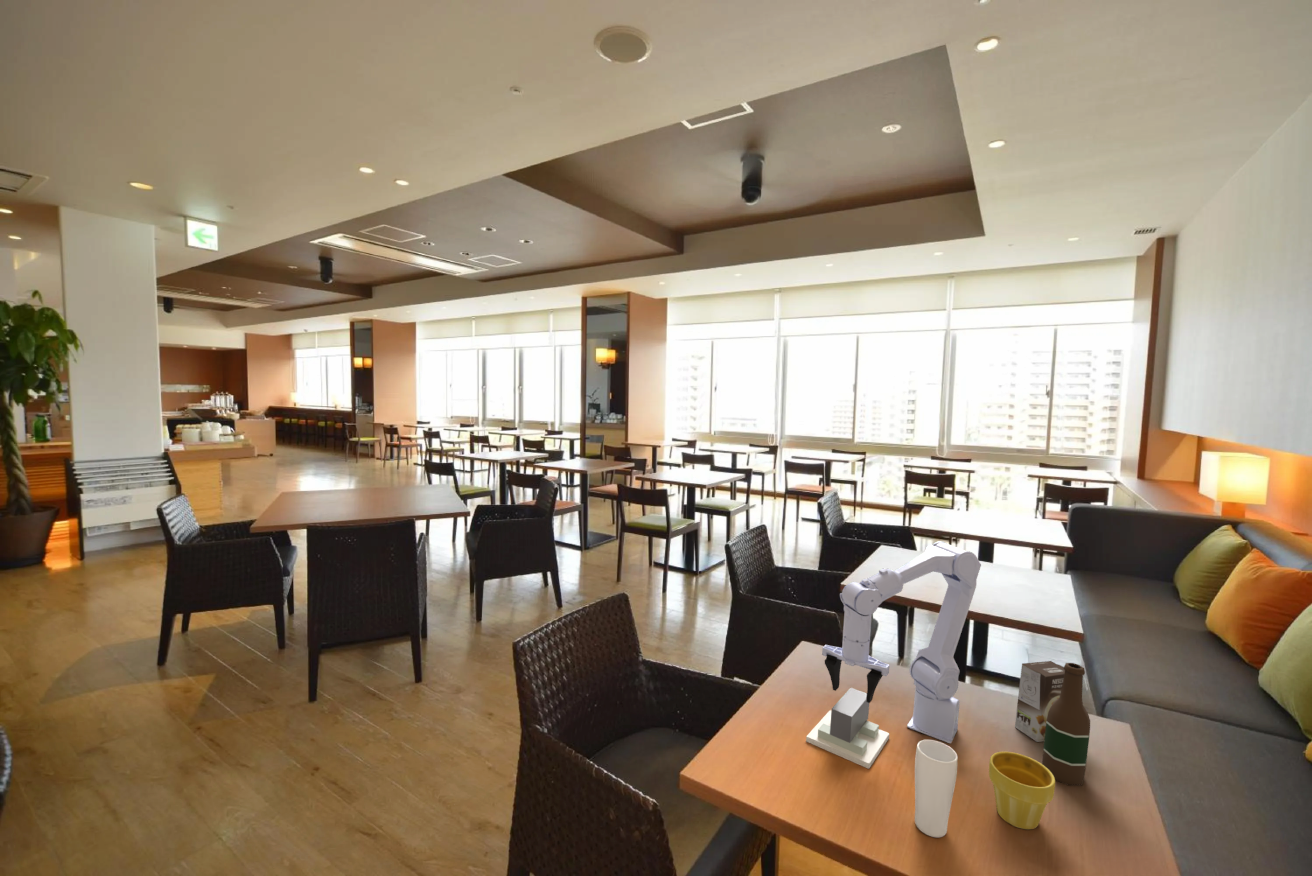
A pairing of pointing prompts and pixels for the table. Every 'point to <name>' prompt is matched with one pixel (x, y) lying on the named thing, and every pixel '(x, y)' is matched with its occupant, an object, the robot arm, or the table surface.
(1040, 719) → the coffee box
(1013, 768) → the plant pot
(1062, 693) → the beer bottle
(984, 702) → the table surface
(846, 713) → the grey upright block
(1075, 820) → the table surface
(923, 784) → the drinking glass
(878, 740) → the stand
